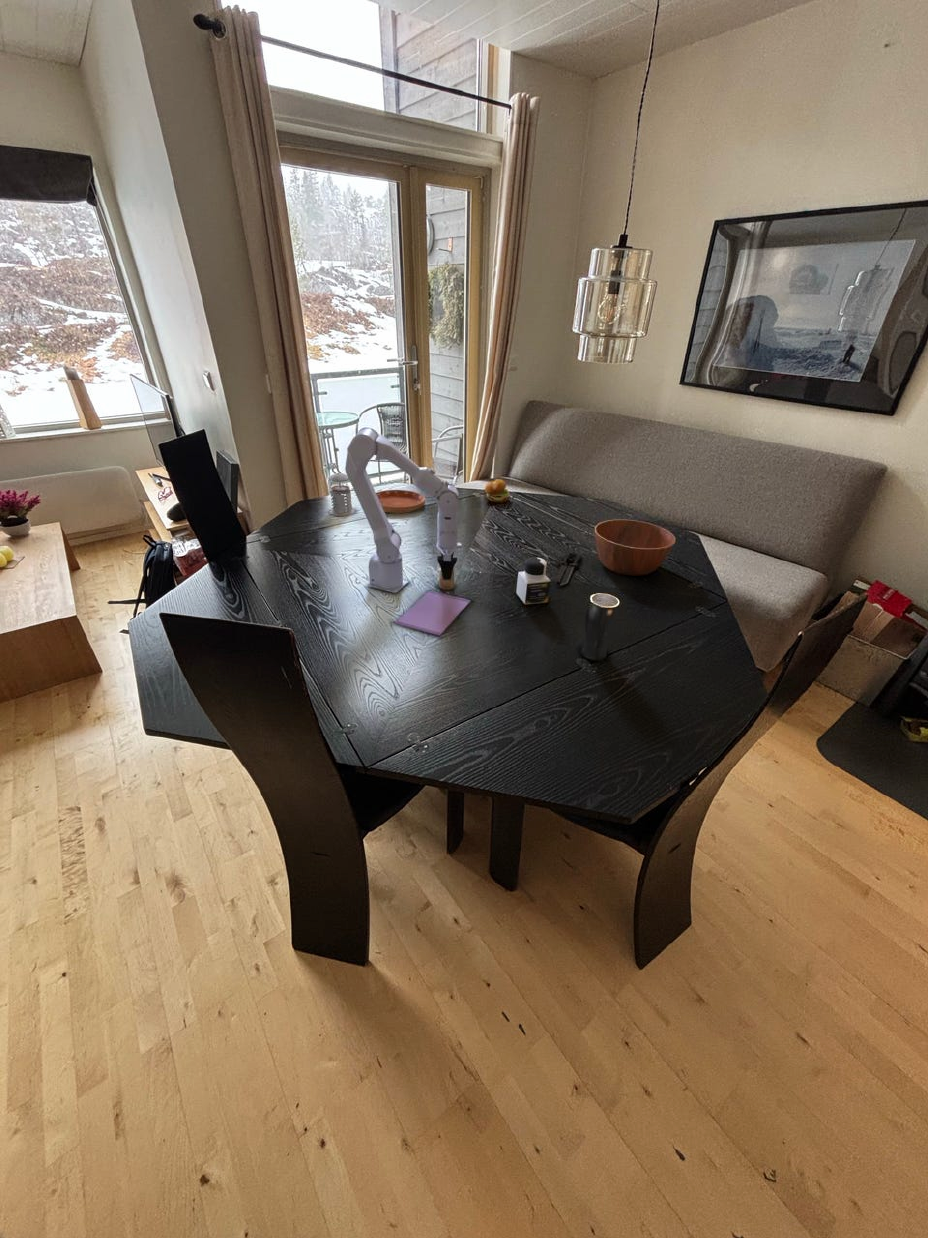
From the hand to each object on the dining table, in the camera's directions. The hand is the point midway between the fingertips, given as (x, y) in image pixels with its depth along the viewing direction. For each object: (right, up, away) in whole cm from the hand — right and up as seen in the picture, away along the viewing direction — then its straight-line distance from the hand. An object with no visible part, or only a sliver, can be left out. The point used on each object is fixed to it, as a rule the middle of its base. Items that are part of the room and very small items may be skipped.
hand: (447, 573), depth 147 cm
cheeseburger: (+20, +42, +70) cm, 84 cm away
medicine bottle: (+25, -8, -2) cm, 26 cm away
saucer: (-23, +33, +62) cm, 74 cm away
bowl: (+59, +4, +19) cm, 62 cm away
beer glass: (+37, -22, -25) cm, 50 cm away
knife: (+39, +2, +15) cm, 41 cm away
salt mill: (0, -4, +2) cm, 4 cm away
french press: (-43, +29, +53) cm, 75 cm away
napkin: (-3, -12, -11) cm, 16 cm away
